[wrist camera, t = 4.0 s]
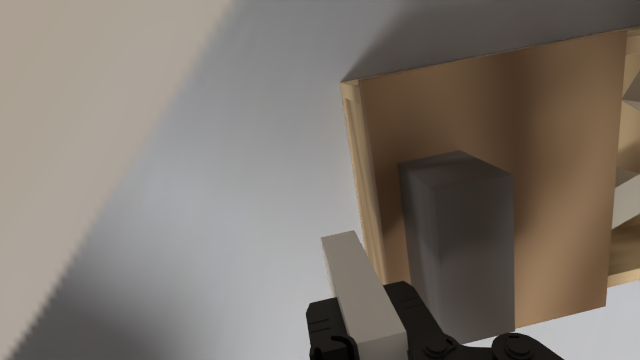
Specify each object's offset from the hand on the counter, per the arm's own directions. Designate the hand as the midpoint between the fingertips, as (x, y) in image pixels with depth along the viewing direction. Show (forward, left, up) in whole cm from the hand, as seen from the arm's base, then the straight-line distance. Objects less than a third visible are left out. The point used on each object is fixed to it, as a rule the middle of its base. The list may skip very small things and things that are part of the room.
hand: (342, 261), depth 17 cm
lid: (+8, 0, -2) cm, 9 cm away
